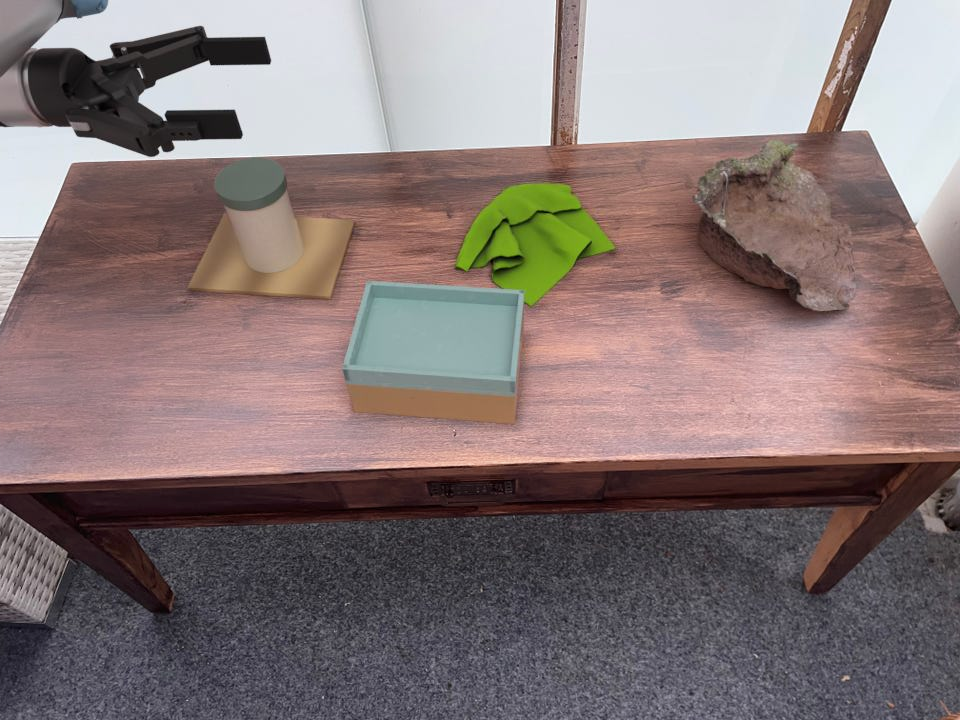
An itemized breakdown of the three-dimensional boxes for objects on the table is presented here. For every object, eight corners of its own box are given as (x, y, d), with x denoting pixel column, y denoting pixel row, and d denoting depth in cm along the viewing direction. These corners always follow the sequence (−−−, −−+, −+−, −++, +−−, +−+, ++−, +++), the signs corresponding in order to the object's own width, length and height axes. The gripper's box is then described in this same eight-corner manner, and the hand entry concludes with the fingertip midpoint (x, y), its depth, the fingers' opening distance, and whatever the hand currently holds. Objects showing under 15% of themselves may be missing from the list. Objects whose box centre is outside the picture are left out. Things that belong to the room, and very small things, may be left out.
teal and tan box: (354, 412, 77) (341, 368, 71) (376, 326, 85) (367, 280, 79) (514, 424, 76) (515, 381, 70) (523, 335, 83) (524, 289, 77)
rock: (864, 355, 84) (918, 296, 76) (679, 320, 82) (716, 256, 75) (818, 214, 100) (859, 154, 92) (664, 183, 99) (692, 120, 91)
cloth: (572, 175, 101) (574, 161, 99) (635, 283, 88) (638, 268, 86) (430, 204, 98) (429, 190, 96) (473, 320, 85) (473, 306, 83)
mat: (188, 290, 89) (187, 287, 89) (225, 216, 98) (224, 212, 97) (330, 299, 87) (330, 296, 87) (355, 223, 96) (355, 219, 96)
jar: (234, 272, 90) (204, 199, 81) (253, 229, 95) (227, 155, 86) (296, 276, 89) (273, 202, 80) (312, 232, 94) (292, 158, 85)
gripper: (105, 59, 84) (285, 56, 83) (15, 196, 69) (235, 194, 68) (75, -7, 78) (269, -10, 78) (-31, 127, 63) (210, 124, 62)
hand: (254, 85), depth 73 cm, fingers open, 13 cm apart
